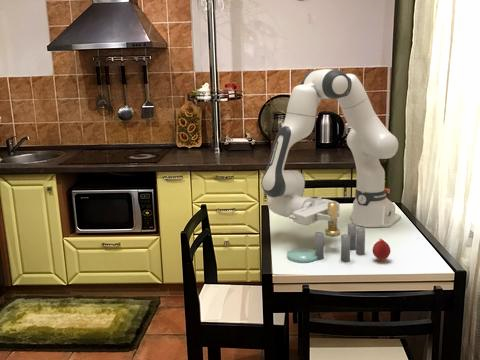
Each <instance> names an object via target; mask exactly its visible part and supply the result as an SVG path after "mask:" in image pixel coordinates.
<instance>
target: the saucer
mask: <svg viewBox="0 0 480 360" xmlns="http://www.w3.org/2000/svg"><path fill="white" fill-rule="evenodd" d="M286 258H287V259H288V260H289V261H291V262H295V263H299V264H307V263H313V262H315V261H317V260H318V259H317V256H316V255H315V249H312V248H307V247H297V248H292V249H290V250H288V251H287V252H286Z"/></svg>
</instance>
